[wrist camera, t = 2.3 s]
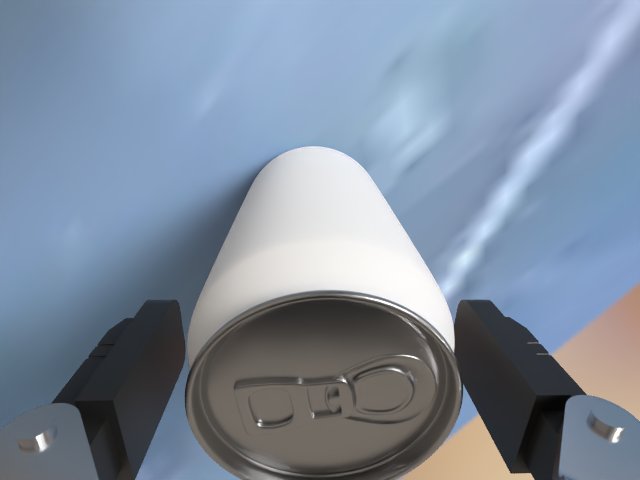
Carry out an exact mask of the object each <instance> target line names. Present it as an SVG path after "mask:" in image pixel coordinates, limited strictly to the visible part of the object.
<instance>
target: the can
mask: <svg viewBox="0 0 640 480" xmlns="http://www.w3.org/2000/svg"><path fill="white" fill-rule="evenodd" d="M454 346H455V339H454V327H453V321H452V317H451V314H450V310H449V308H448V305H447V303H446V300H445V298H444V296H443V294H442V292H441V290H440V288H439V286H438V285H437V283H436V281H435V279H434V277H433V276H432V274H431V272H430V271H429V269H428V267H427V266H426V264H425V263H424V261H423V259H422V258H421V256H420V254H419V253H418V251H417V250H416V248H415V246H414V245H413V243H412V242H411V240H410V238H409V237H408V235H407V233H406V232H405V230H404V229H403V227H402V225H401V224H400V222H399V221H398V219H397V218H396V216H395V214H394V213H393V211H392V210H391V208H390V206H389V205H388V203H387V202H386V200H385V199H384V197H383V195H382V194H381V192H380V191H379V189H378V188H377V186H376V185H375V183H374V182H373V180H372V179H371V177H370V176H369V174H368V173H367V172H366V171H365V169H364V168H363V167H362V166H361V165H360V164H359V163H357V162H356V161H355V160H354V159H352V158H351V157H349V156H348V155H346V154H344V153H342V152H339V151H337V150H334V149H330V148H325V147H316V146H311V147H301V148H297V149H293V150H290V151H287V152H285V153H283V154H281V155H279V156H277V157H276V158H274V159H273V160H272V161H270V162H269V163H268V164H267V165H266V166H265V167H264V168H263V169H262V170H261V171H260V173H259V174H258V175H257V177H256V178H255V180H254V182H253V184H252V185H251V187H250V189H249V191H248V193H247V195H246V198H245V200H244V202H243V204H242V206H241V208H240V210H239V212H238V214H237V216H236V218H235V220H234V223H233V225H232V227H231V229H230V231H229V233H228V235H227V237H226V239H225V242H224V244H223V246H222V248H221V250H220V252H219V254H218V257H217V259H216V261H215V263H214V265H213V267H212V269H211V272H210V274H209V276H208V278H207V280H206V283H205V285H204V287H203V289H202V292H201V294H200V296H199V299H198V301H197V304H196V306H195V309H194V312H193V315H192V319H191V322H190V326H189V331H188V339H187V353H188V363H189V368H190V372H189V375H188V378H187V383H186V389H185V408H186V414H187V418H188V422H189V425H190V427H191V430H192V432H193V434H194V436H195V438H196V439H197V441H198V442H199V444H200V445H201V447H202V448H203V449H204V451H205V452H206V453H207V454H208V455H209V456H210V457H211V458H212V459H213V460H214V461H215V462H216V463H217V464H219V465H220V466H221V467H222V468H224V469H225V470H227V471H228V472H230V473H231V474H233V475H235V476H236V477H238V478H240V479H242V480H395V479H397V478H399V477H401V476H403V475H405V474H407V473H408V472H410V471H411V470H413V469H415V468H416V467H418V466H419V465H420V464H422V463H423V462H424V461H425V460H427V459H428V458H429V457H430V456H431V455H432V454H433V453H434V452H435V451H436V450H437V449H438V448H439V447H440V446H441V445H442V444H443V442H444V441H445V440H446V438H447V437H448V435H449V434H450V432H451V430H452V429H453V427H454V425H455V423H456V420H457V418H458V415H459V412H460V409H461V404H462V398H463V381H462V374H461V370H460V366H459V363H458V361H457V358H456V356H455V354H454Z"/></svg>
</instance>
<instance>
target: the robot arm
mask: <svg viewBox="0 0 640 480" xmlns="http://www.w3.org/2000/svg"><path fill="white" fill-rule="evenodd" d="M454 339H455V346H454V354H455V356H456V358H457V361H458V363H459V366H460V370H461V374H462V381H463V384H464V386H465V388H466V390H467V392H468V394H469V396H470V397H471V399H472V401H473V403H474V405H475V407H476V409H477V411H478V413H479V414H480V416H481V418H482V420H483V422H484V424H485V426H486V428H487V430H488V431H489V433H490V435H491V437H492V439H493V441H494V443H495V445H496V446H497V448H498V450H499V452H500V454H501V456H502V458H503V460H504V461H505V463H506V465H507V467H508V469H509V471H510V473H531V474H532V476H533V477H534V479H535V480H640V421H639V420H638V419H636V418H635V417H634V416H633V415H632V414H630V413H629V412H628V411H626V410H625V409H623V408H621V407H620V406H618V405H616V404H614V403H612V402H610V401H607V400H605V399H602V398H598V397H595V396H589V395H586V393H585V392H584V391H583V390H582V389H581V388H580V387H579V386H578V385H577V383H576V382H575V381H574V380H573V379H572V378H571V377H570V376H569V375H568V373H566V371H565V370H564V369H563V368H562V367H561V366H560V365H559V364H558V363H557V361H556V360H555V359H554V358H553V357H552V356H551V355H549V354H548V351H547V350H546V349H545V348H544V347H543V346H542V345H541V344H539V343H538V340H537V339H536V338H535V337H534V336H533V335H532V334H531V333H530V332H529V330H528V329H527V328H525V327H524V326H522V325H521V324H519V323H518V322H516V321H514V320H513V319H511V318H510V317H504V315H503V314H502V313H501V312H500V311H499V310H498V308H497V307H496V306H495V305H494V304H493V303H492V302H491V301H490V300H461V301H460V303H459V305H458V308H457V313H456V318H455V324H454ZM184 360H185V340H184V333H183V327H182V320H181V313H180V307H179V303H178V302H177V300H147V301H146V302H145V303H144V305H143V306H142V307H141V309H140V310H139V312H138V313H137V314H136V316H135V317H134V318H126V319H124V320H123V321H121V322H120V323H119V324H117V325H116V326H114V327H113V328H111V329H110V330H109V331H108V332H107V333H106V335H105V336H104V337H103V338H102V340H101V341H100V342H99V343H98V347H95V349H94V350H93V351H92V352H91V354H90V355H89V358H88V359H86V360H85V361H84V363H83V364H82V365H81V366H80V368H79V369H78V370H77V371H76V373H75V374H74V375H73V376H72V378H71V379H70V380H69V382H68V383H67V384H66V385H65V387H64V388H63V389H62V390H61V392H60V393H59V394H58V396H57V397H56V398H55V399H54V401H53V402H52V403H51V404H47V405H44V406H40V407H37V408H35V409H32V410H30V411H28V412H26V413H24V414H22V415H20V416H19V417H17V418H16V419H14V420H13V421H11V422H10V423H9V424H7V425H6V426H5V427H4V428H3V429H2V430H1V431H0V480H135V478H136V476H137V474H138V471H139V469H140V467H141V464H142V462H143V460H144V457H145V455H146V452H147V450H148V448H149V445H150V443H151V441H152V438H153V436H154V434H155V431H156V429H157V427H158V424H159V422H160V420H161V417H162V415H163V412H164V410H165V408H166V405H167V403H168V401H169V398H170V396H171V394H172V391H173V389H174V387H175V384H176V382H177V380H178V377H179V375H180V372H181V370H182V368H183V364H184Z"/></svg>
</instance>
